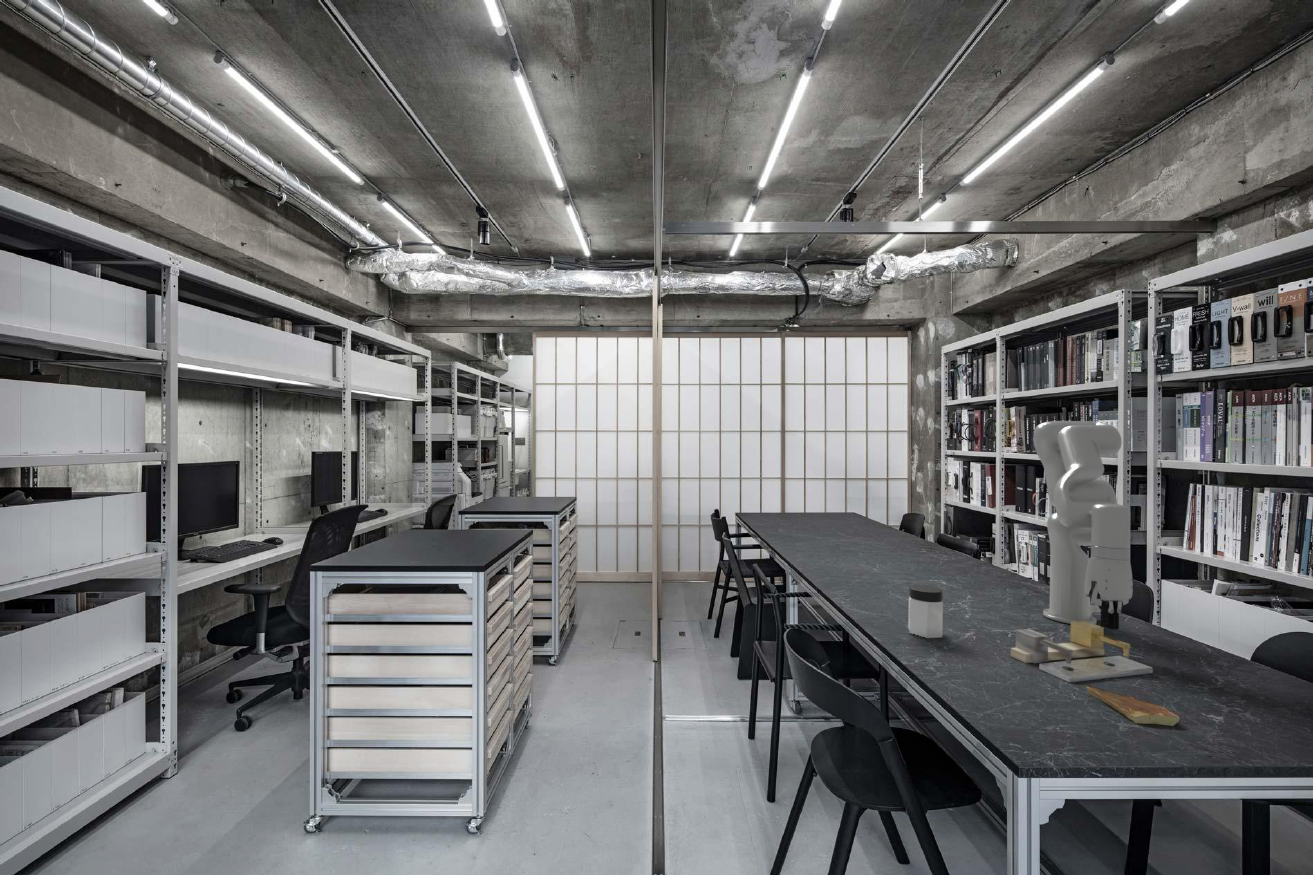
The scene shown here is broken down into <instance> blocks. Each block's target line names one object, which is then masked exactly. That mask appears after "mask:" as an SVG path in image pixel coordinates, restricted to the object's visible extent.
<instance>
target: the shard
mask: <svg viewBox="0 0 1313 875" xmlns="http://www.w3.org/2000/svg"><path fill="white" fill-rule="evenodd" d="M1085 687H1086V690H1087V693H1088V694H1089V695H1091V696H1093V697H1094V698H1096V699H1098V700H1099V701H1101V702H1103V703H1105V704H1107V705H1108V706H1110V707H1112V708H1113V709H1114V710H1116V711H1118V712H1119V713H1120V714H1122V715H1124V716H1125V717H1126V718H1128V719H1129V720H1131V721H1132V722H1133V723H1135V724H1144V725H1145V724H1147V725H1148V724H1149V725H1150V724H1152V725H1163V726H1171V727H1174V726H1175V725H1176V724H1177V723H1178V722H1179V721H1180V716H1178V715H1177V714H1175V713H1173V712H1171V711H1169V710H1168V709H1166V706H1162V705H1160V704H1156V703H1153V702H1150V701H1146V700H1142V699H1140V698H1136V697H1133V696H1131V695H1126V694H1123V693H1118V692H1114V691H1111V690H1106V689H1102V688H1098V687H1094V686H1091V685H1087V684H1085Z"/></svg>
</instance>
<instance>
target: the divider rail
mask: <svg viewBox="0 0 1313 875" xmlns="http://www.w3.org/2000/svg"><path fill="white" fill-rule="evenodd" d="M1098 656H1101V657H1102V656H1105V646H1103V647H1100V648H1088V647H1086V646H1083V645H1080V644H1077V643H1075V642H1072V641H1071V642H1063V643H1062V642H1061V643H1055V642H1053V641H1051V640H1049V636H1048V635H1046V634H1044V633H1041V632H1038V631H1036V630H1032V629H1029V628H1026V629H1016V630H1015V647H1010V657H1011V658H1013V659H1016V660H1018V661H1020V662H1022V663H1024V664H1029V663H1033V664H1037V663H1038V664H1042V663H1049V662H1050V661H1057V660H1058V661H1059V660H1065V661H1066V663H1068V664H1071V661H1072V659H1077V658H1089V657H1098Z"/></svg>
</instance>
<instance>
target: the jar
mask: <svg viewBox="0 0 1313 875" xmlns="http://www.w3.org/2000/svg"><path fill="white" fill-rule="evenodd" d="M943 594H944V592H943V589H942V588H940V587H937V586H934V585H933V586H932V585H928V584H911V585H909V586H908V615H907V616H908V618H907V619H908V622H907V623H908V624H907V628H908V632H909V634H910V633H911V634H910V635H913V634H915V635H914V636H917V635H919V636H918V637H920V636H921V638H923V637H925V638H924V639H941V638H943V621H944V617H943V613H944V612H943V610H944V602H943V599H944V598H943Z"/></svg>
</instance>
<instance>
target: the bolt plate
mask: <svg viewBox="0 0 1313 875" xmlns="http://www.w3.org/2000/svg"><path fill="white" fill-rule="evenodd" d="M1038 664H1039V667H1038V668H1039V670H1040V671H1043V672H1045V673H1047V674H1049V675H1051V676H1053V677H1056V678H1059V679H1061V680H1063V681H1066V682H1068V683H1075V682H1084V681H1093V680H1101V679H1110V678H1111V679H1113V678H1119V677H1128V676H1129V677H1130V676H1139V675H1146V674H1153V673H1154V672H1153V671H1154V670H1153V667H1152V666H1149V665H1147V664H1144V663H1142V662H1141V663H1140V662H1138V661H1135V660H1132V659H1129V658H1126V657H1123V655H1113V656H1104V657H1102V656H1101V657H1093V658H1084V659H1074V660H1072V659H1071V664H1068V663H1066V660H1064V661H1056V662H1055V661H1054V662H1053V661H1052V662H1042V663H1038Z"/></svg>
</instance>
